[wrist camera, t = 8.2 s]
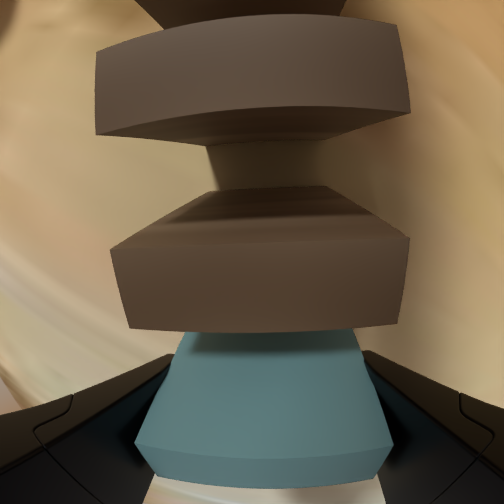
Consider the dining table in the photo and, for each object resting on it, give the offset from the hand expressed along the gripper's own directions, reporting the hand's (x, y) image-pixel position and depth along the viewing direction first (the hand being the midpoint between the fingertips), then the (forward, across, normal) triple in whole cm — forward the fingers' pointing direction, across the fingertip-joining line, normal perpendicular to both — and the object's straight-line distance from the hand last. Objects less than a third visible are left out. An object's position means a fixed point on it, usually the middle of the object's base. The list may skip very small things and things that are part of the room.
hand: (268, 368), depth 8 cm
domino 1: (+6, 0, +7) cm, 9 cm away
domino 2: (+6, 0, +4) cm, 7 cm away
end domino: (+4, 0, 0) cm, 4 cm away
